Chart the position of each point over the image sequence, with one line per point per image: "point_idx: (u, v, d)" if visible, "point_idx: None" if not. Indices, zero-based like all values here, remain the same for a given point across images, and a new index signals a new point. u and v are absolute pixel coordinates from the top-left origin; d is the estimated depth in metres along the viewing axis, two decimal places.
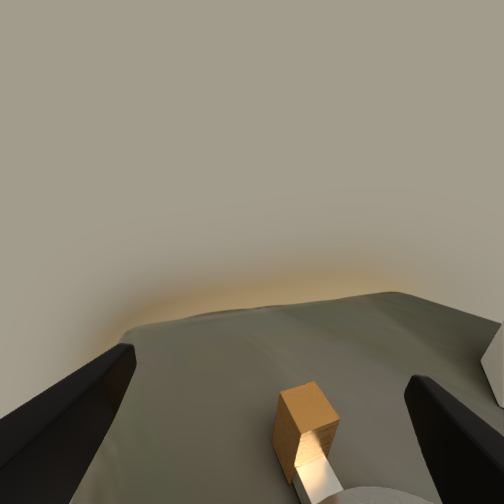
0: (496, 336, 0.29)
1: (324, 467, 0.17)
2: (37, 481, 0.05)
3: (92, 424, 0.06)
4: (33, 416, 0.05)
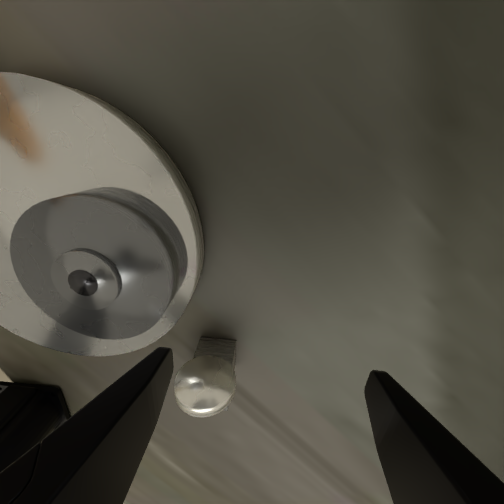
0: None
1: None
2: (98, 489, 0.05)
3: (140, 430, 0.06)
4: (90, 423, 0.05)
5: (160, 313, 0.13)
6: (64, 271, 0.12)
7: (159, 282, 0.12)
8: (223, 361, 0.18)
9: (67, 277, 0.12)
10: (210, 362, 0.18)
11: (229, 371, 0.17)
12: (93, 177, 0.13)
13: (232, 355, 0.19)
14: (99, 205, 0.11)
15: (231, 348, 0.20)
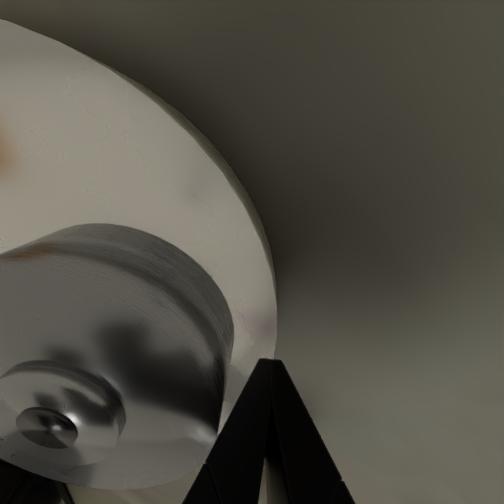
0: None
1: None
2: None
3: (266, 445, 0.06)
4: (238, 441, 0.05)
5: (197, 461, 0.07)
6: (8, 407, 0.06)
7: (199, 418, 0.06)
8: None
9: (15, 418, 0.06)
10: None
11: None
12: (105, 212, 0.07)
13: None
14: (73, 285, 0.05)
15: None
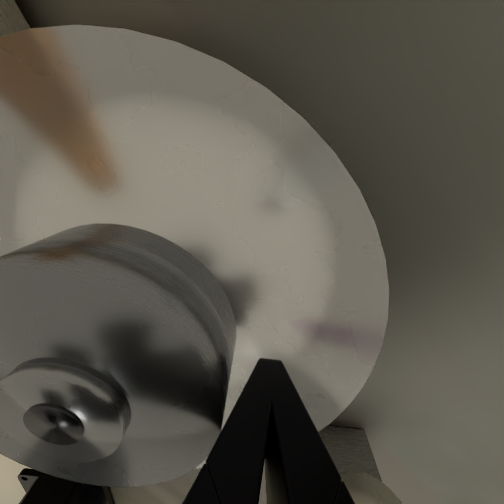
0: None
1: None
2: None
3: (266, 445, 0.06)
4: (238, 441, 0.05)
5: (201, 457, 0.07)
6: (16, 404, 0.06)
7: (203, 414, 0.06)
8: (377, 483, 0.12)
9: (22, 415, 0.06)
10: (360, 486, 0.12)
11: None
12: (233, 225, 0.07)
13: (373, 461, 0.13)
14: (81, 283, 0.05)
15: (365, 446, 0.14)
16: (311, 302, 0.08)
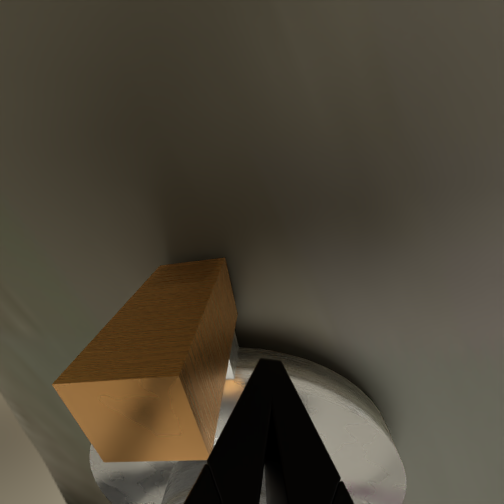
0: None
1: None
2: None
3: (266, 445, 0.06)
4: (238, 441, 0.05)
5: None
6: None
7: None
8: None
9: None
10: None
11: None
12: None
13: None
14: None
15: None
16: (356, 498, 0.14)
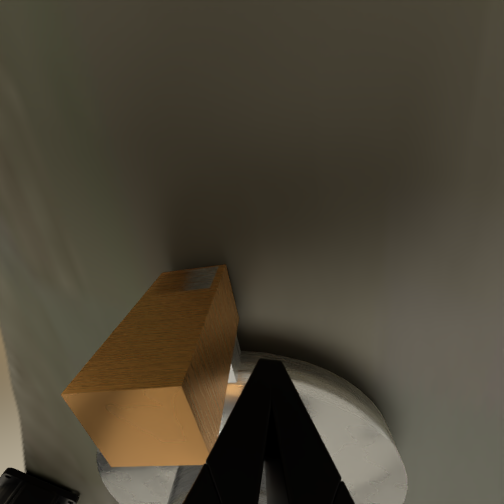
0: None
1: None
2: None
3: (266, 445, 0.06)
4: (238, 441, 0.05)
5: None
6: None
7: None
8: None
9: None
10: None
11: None
12: None
13: None
14: None
15: None
16: (359, 497, 0.14)
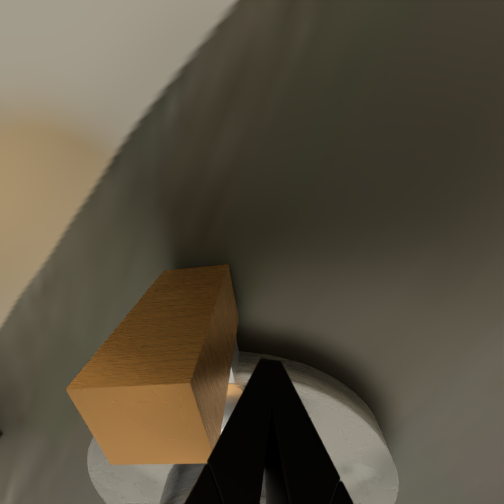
0: None
1: None
2: None
3: (267, 445, 0.06)
4: (239, 441, 0.05)
5: None
6: None
7: None
8: None
9: None
10: None
11: None
12: None
13: None
14: None
15: None
16: None
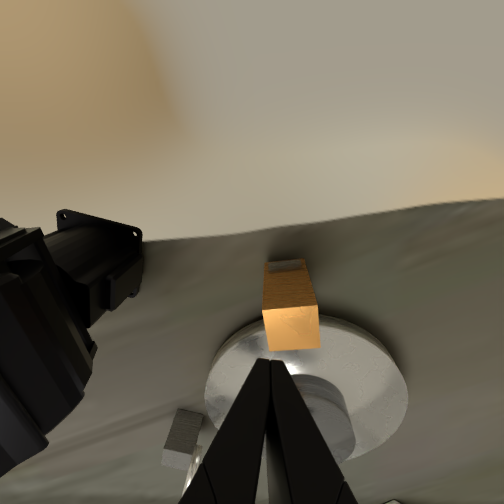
0: None
1: None
2: None
3: None
4: (235, 441, 0.05)
5: None
6: None
7: (345, 452, 0.20)
8: None
9: None
10: None
11: None
12: (359, 385, 0.21)
13: None
14: (335, 417, 0.18)
15: None
16: (376, 411, 0.22)
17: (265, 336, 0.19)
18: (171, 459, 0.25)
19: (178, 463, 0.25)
